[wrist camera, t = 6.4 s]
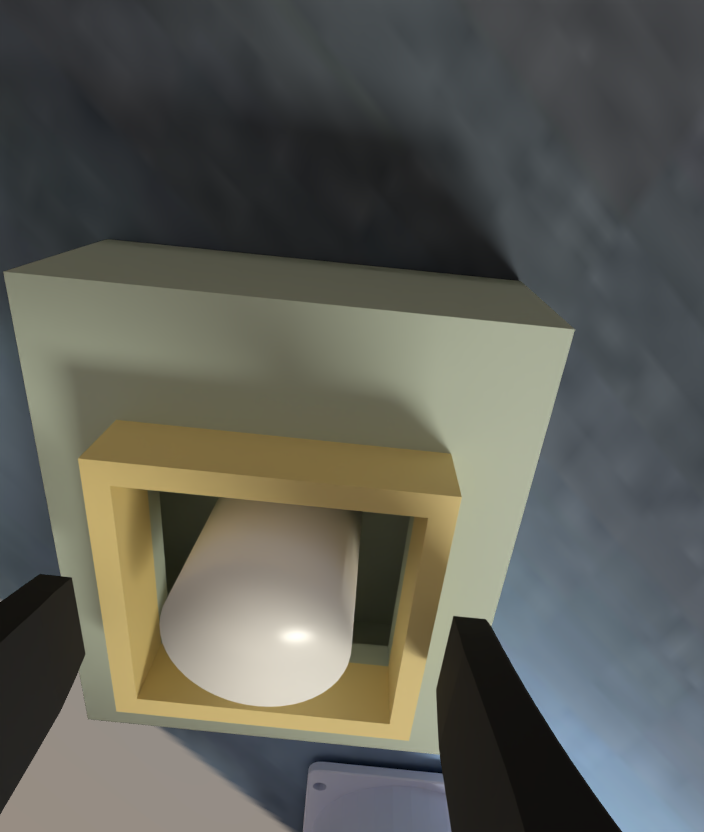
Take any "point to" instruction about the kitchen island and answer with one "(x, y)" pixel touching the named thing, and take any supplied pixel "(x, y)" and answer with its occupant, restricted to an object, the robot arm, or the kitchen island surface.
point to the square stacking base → (282, 455)
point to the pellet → (266, 602)
